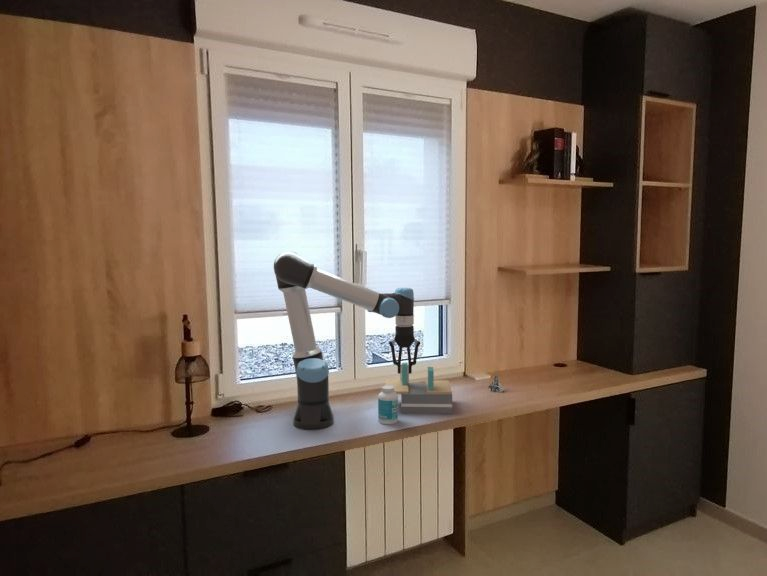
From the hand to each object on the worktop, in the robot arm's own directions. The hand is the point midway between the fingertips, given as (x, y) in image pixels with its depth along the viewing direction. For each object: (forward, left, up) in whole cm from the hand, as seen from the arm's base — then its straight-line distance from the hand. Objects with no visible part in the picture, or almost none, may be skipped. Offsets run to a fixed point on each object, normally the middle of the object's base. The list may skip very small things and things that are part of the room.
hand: (404, 380), depth 211 cm
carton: (+9, -4, -10) cm, 14 cm away
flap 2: (+14, -4, -2) cm, 14 cm away
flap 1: (-3, -4, -2) cm, 5 cm away
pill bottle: (-6, -21, -10) cm, 24 cm away
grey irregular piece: (+39, +19, -11) cm, 45 cm away
